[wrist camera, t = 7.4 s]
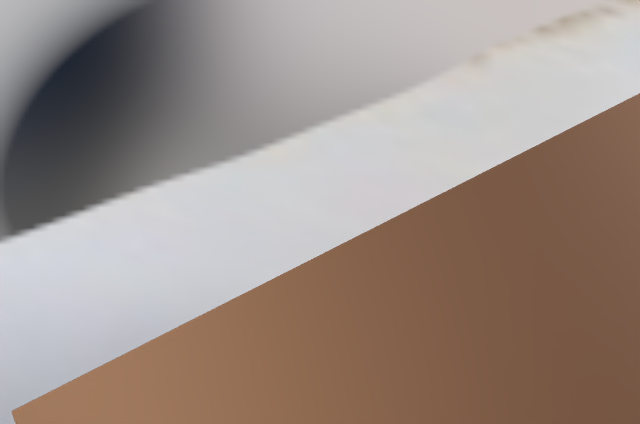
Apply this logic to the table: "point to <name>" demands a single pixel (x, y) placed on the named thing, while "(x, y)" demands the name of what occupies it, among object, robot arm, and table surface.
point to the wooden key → (422, 313)
